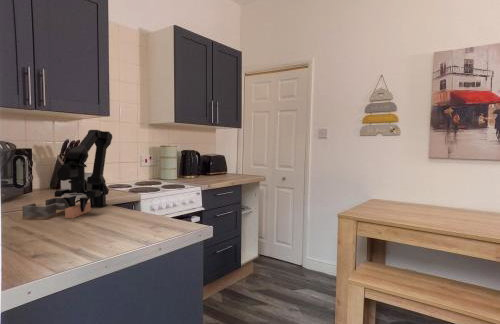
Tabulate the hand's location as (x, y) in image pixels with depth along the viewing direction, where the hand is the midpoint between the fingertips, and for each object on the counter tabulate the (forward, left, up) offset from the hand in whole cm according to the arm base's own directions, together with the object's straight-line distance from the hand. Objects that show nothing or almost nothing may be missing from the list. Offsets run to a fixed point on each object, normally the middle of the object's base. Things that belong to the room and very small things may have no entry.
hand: (78, 211), depth 142 cm
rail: (0, 0, -1) cm, 1 cm away
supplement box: (+21, -31, -1) cm, 37 cm away
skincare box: (+20, -46, -1) cm, 50 cm away
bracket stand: (+13, 0, -1) cm, 13 cm away
